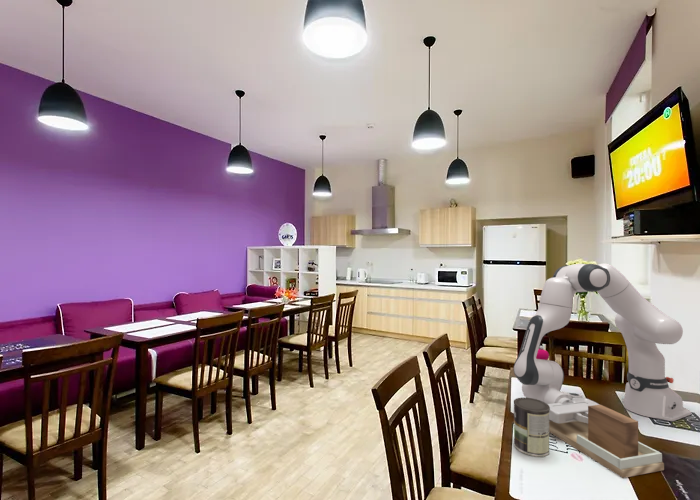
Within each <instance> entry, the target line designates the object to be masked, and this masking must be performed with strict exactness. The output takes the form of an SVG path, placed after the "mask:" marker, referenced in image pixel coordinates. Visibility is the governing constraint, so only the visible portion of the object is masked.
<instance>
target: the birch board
mask: <svg viewBox="0 0 700 500" xmlns="http://www.w3.org/2000/svg"><path fill="white" fill-rule="evenodd" d="M549 434H551V435H553V436H555V437H557V438H558V439H560V440H561V441H563V442H565V443H566V444H568V445H569V446H571V447H573V448H574V449H576V450H578V451H579V452H581V453H582V454H584V455H585V456H587V457H589V458H590V459H592V460H593V461H595V462H596V463H598V464H599V465H602V466H603V467H605V468H606V469H608V470H610V471H611V472H613V473H614V474H616V475H618V476H619V477H621V478H622V479H624V478H625V479H626V478H629V477H636V476H639V475H645V474H650V473H656V472H660V471H662V472H663V471H664V470H665V463H664V462H663V461H662V462H660V463H655V464H649V465H644V466H638V467H633V468H627V469H622V470H621V469H619V468H618V467H616V466H614V465H613V464H611V463H609V462H608V461H606V460H604V459H603V458H601V457H599V456H598V455H596V454H594V453H593V452H591V451H589V450H588V449H586V448H584V447H583V446H581V445H580V444H578V443H577V435H580V436H582V437H584V438H586V439H587V440H588V424H587V423H584V422H580V421H575V422H567V423H560V424H559V423H555V422H553V421H552V420H549ZM639 455H644V454H643V453H641V452H639V451H638V456H639Z"/></svg>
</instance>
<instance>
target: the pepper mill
mask: <svg viewBox="0 0 700 500" xmlns="http://www.w3.org/2000/svg"><path fill="white" fill-rule="evenodd" d="M549 358H550V354H549V352H548V351H547V350H546V349H544V346H543V345H539V349H538V352H537V356H536V359H543V360H549Z"/></svg>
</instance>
